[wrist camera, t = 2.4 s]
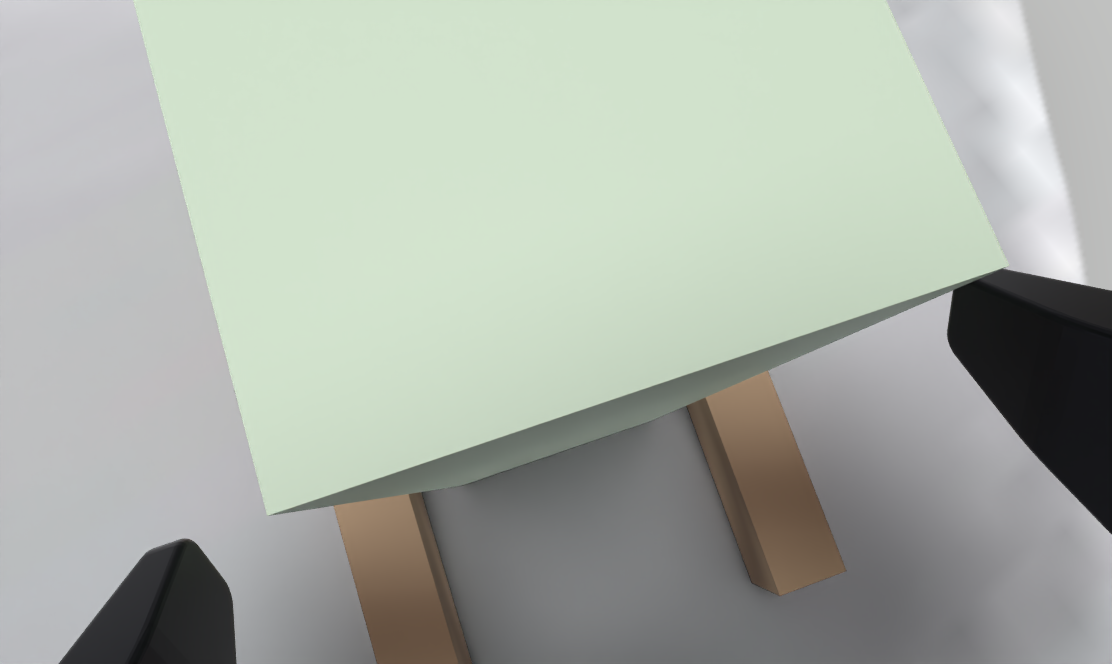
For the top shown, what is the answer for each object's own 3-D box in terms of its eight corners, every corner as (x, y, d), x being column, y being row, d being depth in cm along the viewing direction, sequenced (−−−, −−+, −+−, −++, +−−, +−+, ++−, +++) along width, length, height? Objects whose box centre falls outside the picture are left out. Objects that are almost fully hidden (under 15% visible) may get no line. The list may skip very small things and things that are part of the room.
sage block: (650, 420, 19) (1009, 265, 5) (462, 485, 18) (267, 515, 4) (586, 241, 19) (736, -322, 6) (404, 298, 19) (89, -169, 5)
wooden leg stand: (811, 561, 18) (856, 574, 16) (412, 709, 17) (393, 748, 15) (597, 6, 21) (607, -57, 18) (242, 105, 20) (202, 52, 17)
